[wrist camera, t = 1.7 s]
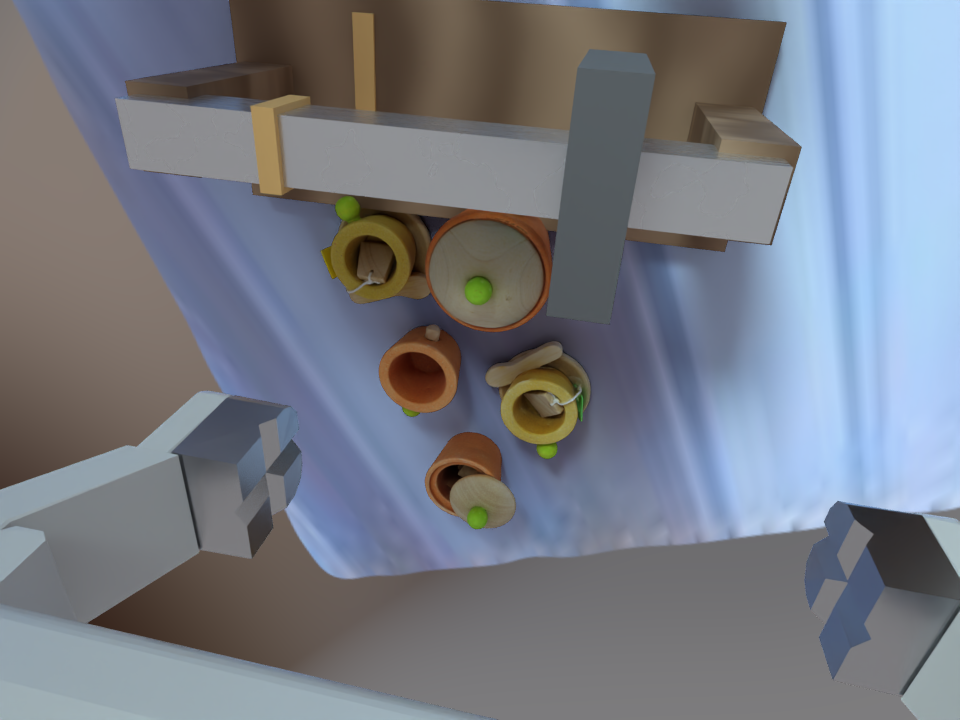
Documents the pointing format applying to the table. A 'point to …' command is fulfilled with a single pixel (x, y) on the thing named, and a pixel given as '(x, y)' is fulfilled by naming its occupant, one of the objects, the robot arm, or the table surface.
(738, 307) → the table surface
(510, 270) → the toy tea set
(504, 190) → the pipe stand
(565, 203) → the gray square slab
